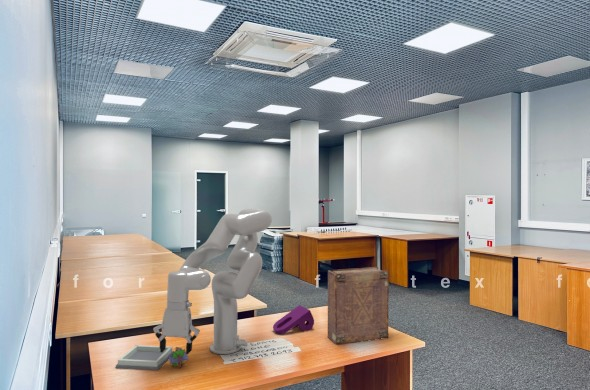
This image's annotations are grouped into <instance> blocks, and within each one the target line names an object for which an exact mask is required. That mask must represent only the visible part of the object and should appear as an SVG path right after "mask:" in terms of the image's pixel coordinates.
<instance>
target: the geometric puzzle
mask: <svg viewBox="0 0 590 390" xmlns="http://www.w3.org/2000/svg"><path fill="white" fill-rule="evenodd" d="M173 351H174V352H172V353H173V355H169V356H168V358H169V359H168V360H169V363H170V365H171V367H176V366H178V368H182V365H183V364H186V362H187V361H189V360H190V359H189V356H188V354H186V349H185V348H184V349H183V348H182V347H177V346H176V347H175V349H174V350H173Z"/></svg>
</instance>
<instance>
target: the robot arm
mask: <svg viewBox="0 0 590 390" xmlns="http://www.w3.org/2000/svg"><path fill="white" fill-rule="evenodd" d="M272 220H273V218H272V215H271V213H270V212H269V211H267V210H266V209H256V208H255V209H254V208H253V209H252V208H245V209H241V210H240V211H239V212H238V213H225V214H224V215H222V216H221V218H220V219H219V221H218V222H217V224H216V226H215V227H214V229H213V231H212V232H211V233H210V235H209V237H208V238H207V240H206V241H205V242H204V243H202V244H201V245H200V246H199V247H197V248H196V249H195V250H194V251H192V252H191V253H190V254H189V255H188V257H187V258H186V259H185V260H184V262H183V264H182V265H181V266H180V268H179V270H173V271H171V272H169V273H168V276H167V294H166V307H165V309H164V311H163V317H162V322H161V324H159V325H157V326H155V327H153V332H154V334H155V336H156V338H157V339H158V341H159V346H160V352H163V351H164V350H165V349H166V347H167V339H166V337H167V338H169V337H170V338H180V339H182V338H184V339H185V340H186V342H187V343H186V344H185V348H186V349H185V352H186V354H187V355H189V354H190V353H191V351H192V350H193V341H194V340H195V339H197V337H198V335H200V334H199V333H201V330H200V329H199V328H197V327H195V326H194V325H193V324H192V323H193V320H192V312H191V308H190V307H192V304H193V303H192V302H190V301H189V293H190V291H200V290H201V291H202V290H205V289H206V288H208V287H209V285H210V284H211V291H212V297H213V343H211V344H210V345H209V350H210V352H212V353H213V354H217V355H230V354H234V353H237V352H239V351H240V350H241V348H242V347H248V341H247V340H246V339H245V338H244V339H243V338H242V339H241V338H240V335H238V301H237V300H243V299H245V298H246V297H247V296H248V295H249V294H250V292H251V290H252V288H253V287H254V284H255V283H256V281H257V279H258V277H259V275H260V273H261V272H262V268H263V258H262V255H261V254H260V253H259V252H257V251H256V249H257V247H258V243H259V236H258V233H260V232H263V231H266V230H267V229H269V228H270V227H271V224H272ZM235 236H238V237H239V238H238V239H237V241H236V243H235V245H234V247H233V249H232V250H231V252H230V254H229V256H228V257H227V260H226V264H227V265H226V266H227V268H228V269H229V270H231V271H233V272H231V271H226V270H221V271H218V272H216V273H215V274H214V275H213V277H211V275H210V274H209V272H208V271H206V270H204V269H200V268H201V267H202V265H204V264H206V262H208V261H210V260H212V259H214V258H217V257H220V256H222V255H223V254H225V252H226V251H227V249H228V247H230V244H231V243H232V241H233V239H234V237H235ZM235 272H237V273H235ZM160 329H161V332H160ZM193 332H194V333H193ZM192 333H193V336H192Z"/></svg>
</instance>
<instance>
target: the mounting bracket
mask: <svg viewBox="0 0 590 390" xmlns="http://www.w3.org/2000/svg"><path fill="white" fill-rule="evenodd" d="M314 325H315V319H314V315H313V314H312V312H311V310H310V309H308V308H306V307H305V306H302V305H300V304H299V305H298V306H296V307H295V308H293V309H292V310H291V311H289V312H288V313H286V314H285V315H284V316H283V317H281V318H279V319H278V320H276V322H275V323H273V327H272V329H273V332H274V333H275V334H277V335H283V334H286V333H288V332H289V331H291V330H292V329H293V328H295V327H297V328H299V330H301V331H303V332H309V331H311V330H312V329H313V327H314Z"/></svg>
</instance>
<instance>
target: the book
mask: <svg viewBox="0 0 590 390" xmlns="http://www.w3.org/2000/svg"><path fill="white" fill-rule="evenodd" d="M389 273H390V272H389V271H388V270H381V269H379V266H373V267H372V266H371V267H370V266H369V267H360V268H359V267H357V268H345V269H344V268H343V269H342V268H341V269H329V270H327V338H328V339H329V340H330V341H332V342H333V343H334V344H335V345H336V344H338V345H345V344H352V343H360V342H361V341H363V342H369V341H368V340H371V341H376V340H375V339H379V340H382V339H381V338H387V339H389V297H390V296H389V293H390V291H389V287H390V286H389V281H390V279H389Z"/></svg>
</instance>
